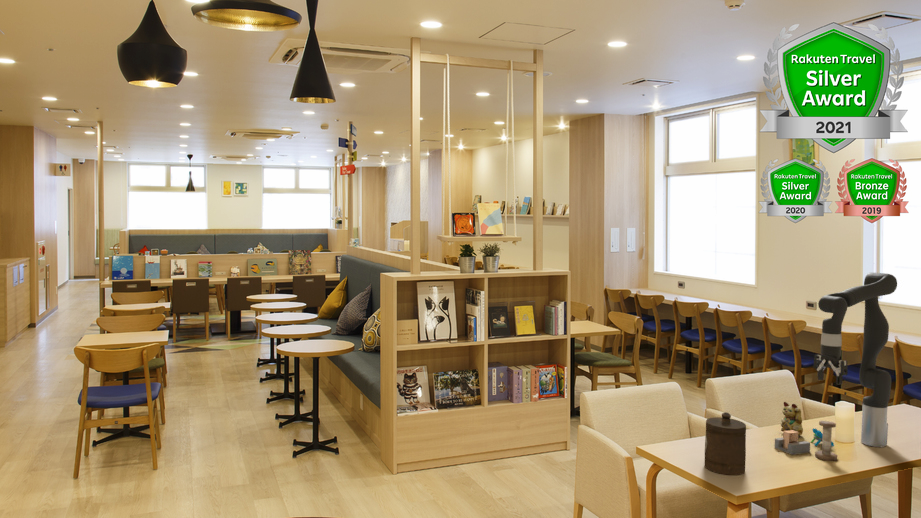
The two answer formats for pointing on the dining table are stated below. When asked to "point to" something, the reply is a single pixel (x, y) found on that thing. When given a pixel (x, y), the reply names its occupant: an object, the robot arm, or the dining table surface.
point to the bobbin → (826, 442)
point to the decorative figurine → (792, 418)
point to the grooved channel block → (793, 446)
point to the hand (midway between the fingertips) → (829, 382)
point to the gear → (819, 437)
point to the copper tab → (789, 438)
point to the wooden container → (725, 445)
